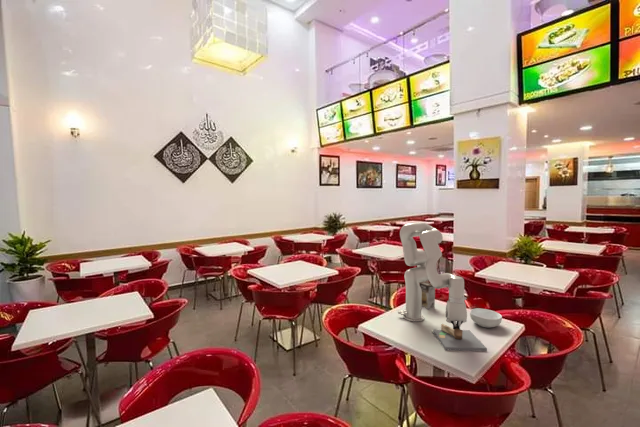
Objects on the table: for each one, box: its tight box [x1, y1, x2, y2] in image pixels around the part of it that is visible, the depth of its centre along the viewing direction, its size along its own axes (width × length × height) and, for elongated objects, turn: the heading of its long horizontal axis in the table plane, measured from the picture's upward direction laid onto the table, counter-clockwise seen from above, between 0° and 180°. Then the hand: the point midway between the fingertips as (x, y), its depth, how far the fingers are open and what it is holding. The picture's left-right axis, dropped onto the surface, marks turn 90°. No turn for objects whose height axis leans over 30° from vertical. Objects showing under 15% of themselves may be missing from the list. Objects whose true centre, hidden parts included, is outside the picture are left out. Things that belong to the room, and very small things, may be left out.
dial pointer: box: [440, 323, 463, 340], centre depth 165 cm, size 13×4×4 cm, turn 25°
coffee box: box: [419, 281, 436, 310], centre depth 211 cm, size 9×6×16 cm
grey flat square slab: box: [432, 329, 488, 352], centre depth 161 cm, size 20×20×2 cm
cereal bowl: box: [469, 307, 503, 329], centre depth 181 cm, size 17×17×7 cm
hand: (456, 332), depth 166 cm, fingers closed
